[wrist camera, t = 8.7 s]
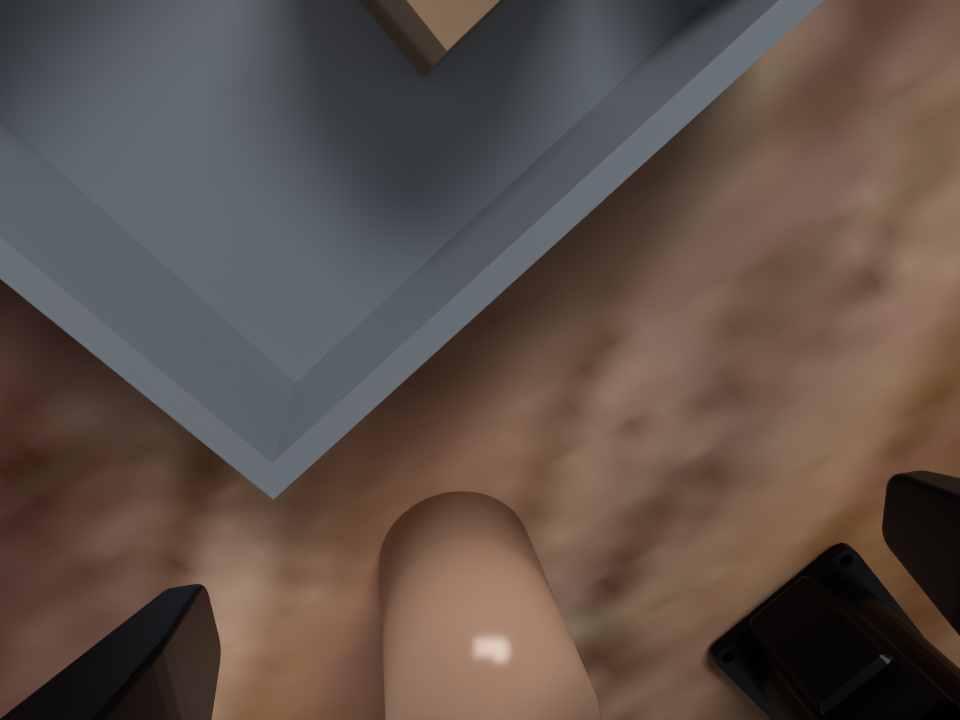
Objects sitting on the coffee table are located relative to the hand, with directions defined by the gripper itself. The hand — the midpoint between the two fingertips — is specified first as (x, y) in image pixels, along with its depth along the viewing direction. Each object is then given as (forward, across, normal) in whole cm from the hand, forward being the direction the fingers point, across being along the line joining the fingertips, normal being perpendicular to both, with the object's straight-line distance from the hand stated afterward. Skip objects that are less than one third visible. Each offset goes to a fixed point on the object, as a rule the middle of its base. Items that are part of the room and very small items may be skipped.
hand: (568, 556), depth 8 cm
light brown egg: (+12, +1, +8) cm, 14 cm away
